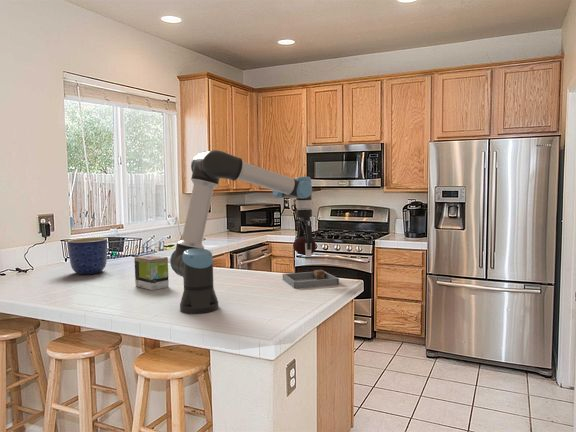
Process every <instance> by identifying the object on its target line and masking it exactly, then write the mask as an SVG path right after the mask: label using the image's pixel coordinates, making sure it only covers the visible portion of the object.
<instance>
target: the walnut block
mask: <svg viewBox="0 0 576 432" xmlns="http://www.w3.org/2000/svg"><path fill="white" fill-rule="evenodd" d="M324 271H325V270H323V269H316V270H313V272H314V278H315V279H317V280H319V279H324Z"/></svg>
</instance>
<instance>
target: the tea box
mask: <svg viewBox="0 0 576 432" xmlns="http://www.w3.org/2000/svg"><path fill="white" fill-rule="evenodd" d="M134 280H135V281H134V282H135V287H138V288H141V289H146V290H149V291H153V290H160V289H165V288H169V283H170V282H169V281H170V280H169V257H167V256H161V255H154V254H148V255H147V254H146V255H140V256H134Z"/></svg>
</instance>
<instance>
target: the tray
mask: <svg viewBox="0 0 576 432" xmlns="http://www.w3.org/2000/svg"><path fill="white" fill-rule="evenodd" d="M323 271H324V279H319V280H317V279H315V278H314V271H305V272H294V273H293V272H292V273H282V280H283V282H285V283H286V284H287V285H289V286H290V287H291V288H293V289H306V288H317V287H327V286H338V285H340V281H339V280H340V279H339V278H338V277H337V276H334V275H333V274H330V273H328V272H327V271H325V270H323Z"/></svg>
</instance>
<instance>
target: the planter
mask: <svg viewBox="0 0 576 432" xmlns="http://www.w3.org/2000/svg"><path fill="white" fill-rule="evenodd" d="M66 242H67V249H68V256H69V264H70V267H71V269H72V270H73V272H75V273H76V274H77V275H83V276H85V275H95V274H98V273H101V272H102V271H103V270H104V269H105V268H106V266H107V262H108V261H107V259H108V258H107V257H108V256H107V255H108V238H106V237H100V236H99V237H95V236H94V237H93V236H92V237H91V236H90V237H81V238H80V237H79V238H72V239H68V240H67V241H66Z"/></svg>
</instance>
